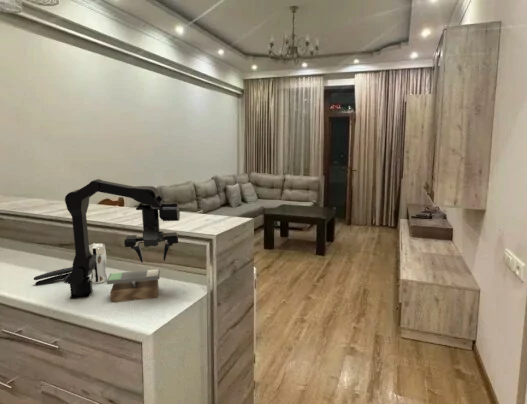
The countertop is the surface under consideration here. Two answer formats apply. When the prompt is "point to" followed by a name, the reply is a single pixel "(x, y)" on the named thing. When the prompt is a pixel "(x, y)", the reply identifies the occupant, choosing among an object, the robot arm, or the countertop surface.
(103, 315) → the countertop surface
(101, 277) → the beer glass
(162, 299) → the countertop surface
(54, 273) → the can opener
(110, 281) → the grey flat panel
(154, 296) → the switch base
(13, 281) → the countertop surface
